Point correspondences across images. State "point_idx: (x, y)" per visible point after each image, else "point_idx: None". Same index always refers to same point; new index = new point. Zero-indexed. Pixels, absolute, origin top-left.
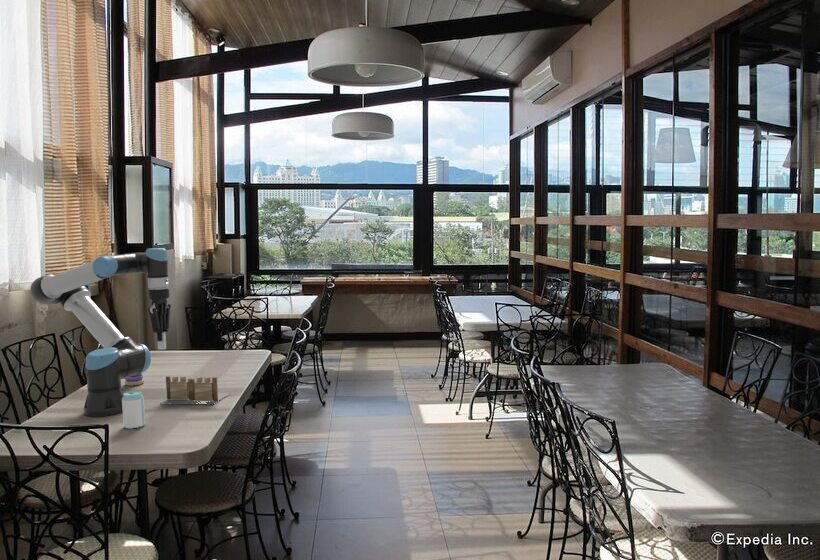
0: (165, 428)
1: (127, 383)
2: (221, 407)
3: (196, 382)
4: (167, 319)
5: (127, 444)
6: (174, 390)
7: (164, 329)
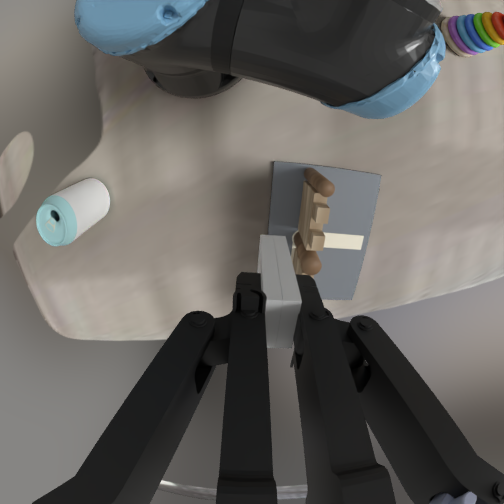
0: (100, 264)
1: (443, 23)
2: None
3: None
4: (370, 425)
5: (34, 240)
6: (307, 200)
7: (293, 360)
